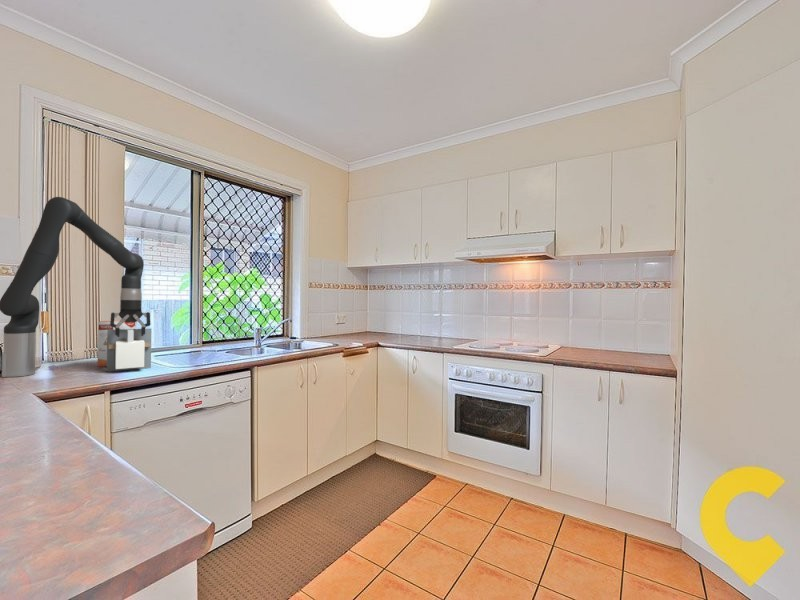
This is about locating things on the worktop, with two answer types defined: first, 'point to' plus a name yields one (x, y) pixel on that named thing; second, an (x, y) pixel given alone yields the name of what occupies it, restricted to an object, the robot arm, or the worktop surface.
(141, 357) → the white block
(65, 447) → the worktop surface
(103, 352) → the cracker box
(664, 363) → the worktop surface
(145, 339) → the wall board
